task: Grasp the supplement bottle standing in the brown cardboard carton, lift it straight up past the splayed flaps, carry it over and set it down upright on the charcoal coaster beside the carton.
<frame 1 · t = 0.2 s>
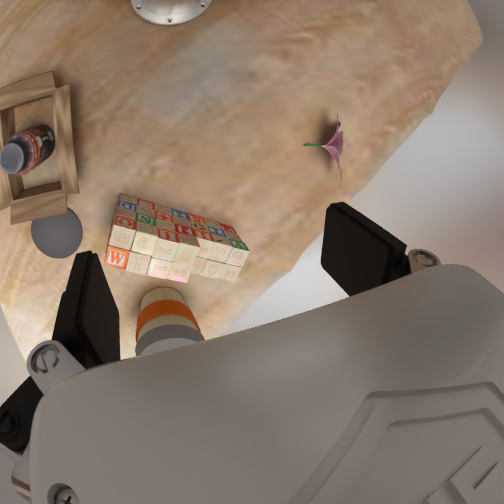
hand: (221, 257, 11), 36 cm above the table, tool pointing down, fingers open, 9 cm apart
supplement bottle: (40, 142, 33), resting in carton
stack of blocks: (172, 225, 49), on the table
lily: (322, 142, 50), on the table
coaster: (56, 231, 40), on the table
reusable coffee cup: (162, 304, 56), on the table
carton: (39, 143, 32), on the table
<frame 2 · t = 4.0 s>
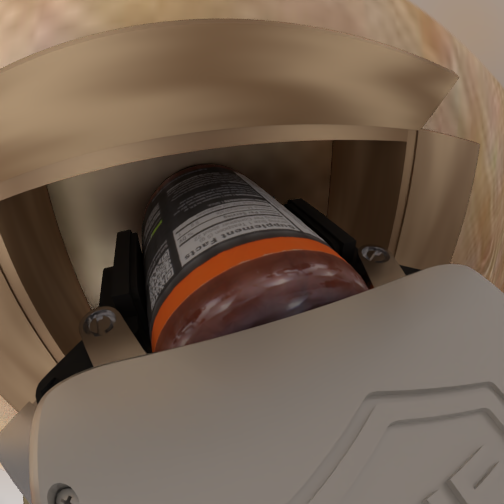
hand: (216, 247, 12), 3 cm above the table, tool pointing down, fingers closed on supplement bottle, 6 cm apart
supplement bottle: (202, 219, 14), resting in carton, touching gripper
carton: (203, 221, 14), on the table
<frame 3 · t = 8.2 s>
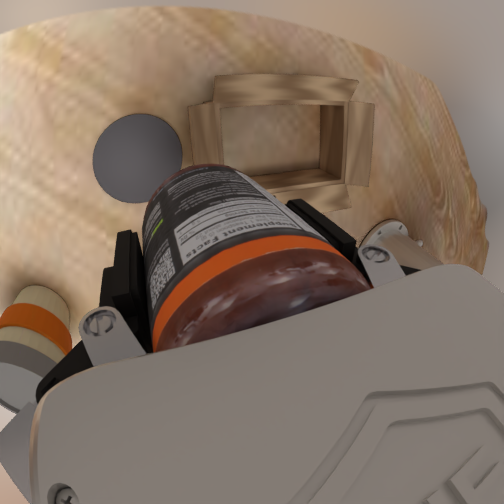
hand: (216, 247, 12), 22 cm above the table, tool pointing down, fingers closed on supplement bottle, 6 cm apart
supplement bottle: (203, 218, 14), point 19 cm above the table, touching gripper
coaster: (137, 158, 28), on the table
reusable coffee cup: (42, 309, 33), on the table
carton: (270, 138, 32), on the table
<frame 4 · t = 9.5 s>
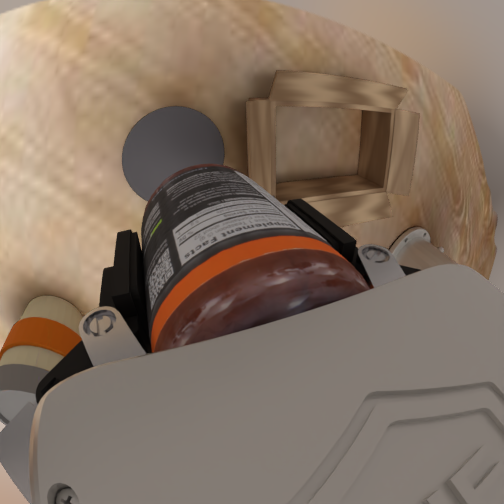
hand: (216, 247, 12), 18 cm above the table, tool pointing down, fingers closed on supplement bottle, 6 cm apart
supplement bottle: (202, 218, 14), point 15 cm above the table, touching gripper
coaster: (173, 156, 26), on the table
reusable coffee cup: (55, 321, 30), on the table
carton: (313, 142, 30), on the table
when the fingers open (4 cm above the table, at t = 12.8 s): supplement bottle stays where it is, resting on coaster.
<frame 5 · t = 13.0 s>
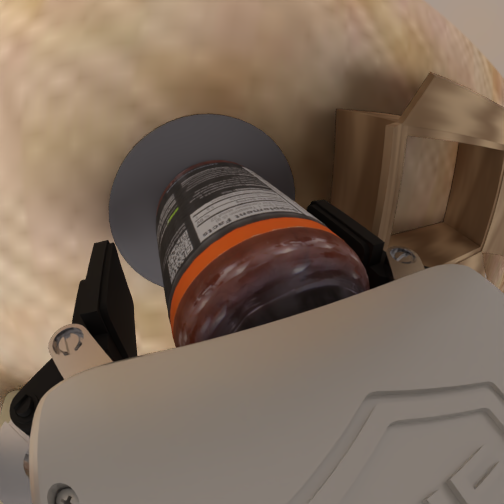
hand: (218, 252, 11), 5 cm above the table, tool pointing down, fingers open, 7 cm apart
supplement bottle: (211, 211, 15), resting on coaster
coaster: (204, 208, 15), on the table
carton: (409, 182, 19), on the table
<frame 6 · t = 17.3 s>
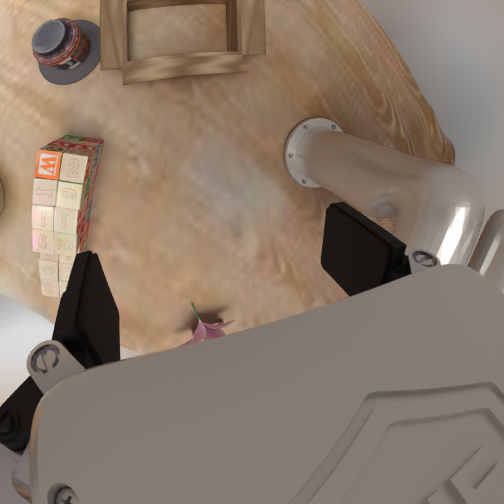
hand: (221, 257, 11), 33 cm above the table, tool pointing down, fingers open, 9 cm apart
supplement bottle: (72, 51, 25), resting on coaster
stack of blocks: (73, 204, 37), on the table
lily: (199, 315, 57), on the table
coaster: (70, 51, 25), on the table
carton: (178, 31, 30), on the table
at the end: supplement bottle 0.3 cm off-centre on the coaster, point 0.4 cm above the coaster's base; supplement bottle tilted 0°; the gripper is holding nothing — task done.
